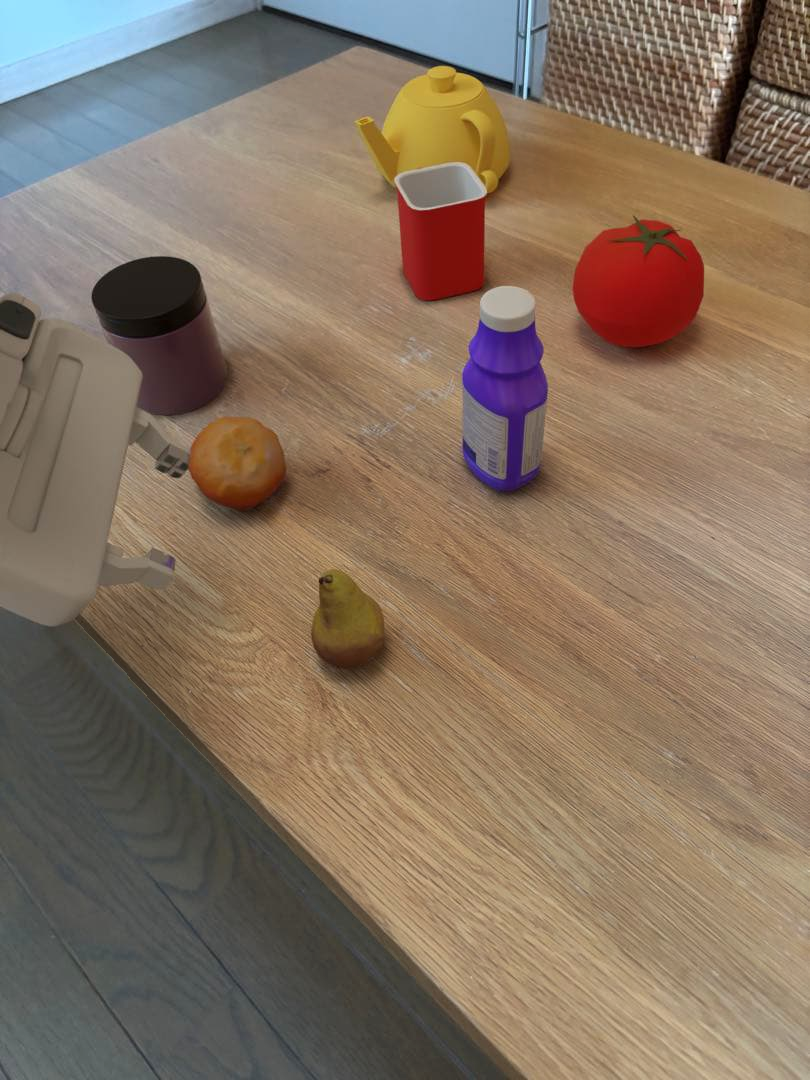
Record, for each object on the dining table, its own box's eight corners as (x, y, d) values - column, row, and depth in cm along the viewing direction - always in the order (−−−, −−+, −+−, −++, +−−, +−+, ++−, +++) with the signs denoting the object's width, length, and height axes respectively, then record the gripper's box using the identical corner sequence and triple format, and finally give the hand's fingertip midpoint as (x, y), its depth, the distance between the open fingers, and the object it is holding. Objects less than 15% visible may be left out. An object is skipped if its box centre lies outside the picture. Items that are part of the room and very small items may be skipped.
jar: (119, 418, 84) (82, 328, 76) (137, 354, 90) (104, 265, 82) (222, 411, 83) (195, 321, 75) (232, 347, 90) (208, 257, 82)
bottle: (553, 477, 75) (570, 307, 62) (501, 507, 73) (507, 338, 60) (501, 432, 79) (506, 264, 66) (451, 459, 77) (446, 291, 64)
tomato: (693, 373, 83) (717, 276, 75) (563, 363, 85) (573, 268, 77) (692, 293, 91) (714, 198, 83) (574, 285, 93) (583, 192, 85)
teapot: (461, 133, 117) (460, 30, 108) (547, 188, 107) (554, 80, 97) (333, 178, 111) (319, 74, 102) (410, 242, 101) (403, 132, 91)
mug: (490, 289, 94) (492, 196, 85) (418, 305, 92) (412, 213, 84) (455, 234, 101) (454, 144, 93) (388, 248, 100) (380, 158, 92)
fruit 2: (405, 651, 64) (393, 549, 55) (343, 696, 62) (320, 597, 53) (360, 606, 67) (342, 502, 58) (300, 646, 65) (271, 545, 56)
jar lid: (87, 340, 77) (79, 322, 75) (108, 277, 83) (102, 259, 82) (198, 333, 76) (193, 315, 75) (211, 270, 83) (206, 252, 81)
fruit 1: (223, 428, 79) (241, 386, 73) (286, 487, 80) (310, 450, 73) (160, 482, 75) (172, 443, 69) (227, 544, 76) (246, 511, 69)
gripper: (-81, 526, 39) (187, 629, 47) (21, 274, 53) (218, 385, 60) (-126, 593, 43) (131, 679, 50) (-19, 341, 56) (171, 438, 63)
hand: (178, 517), depth 55 cm, fingers open, 8 cm apart
